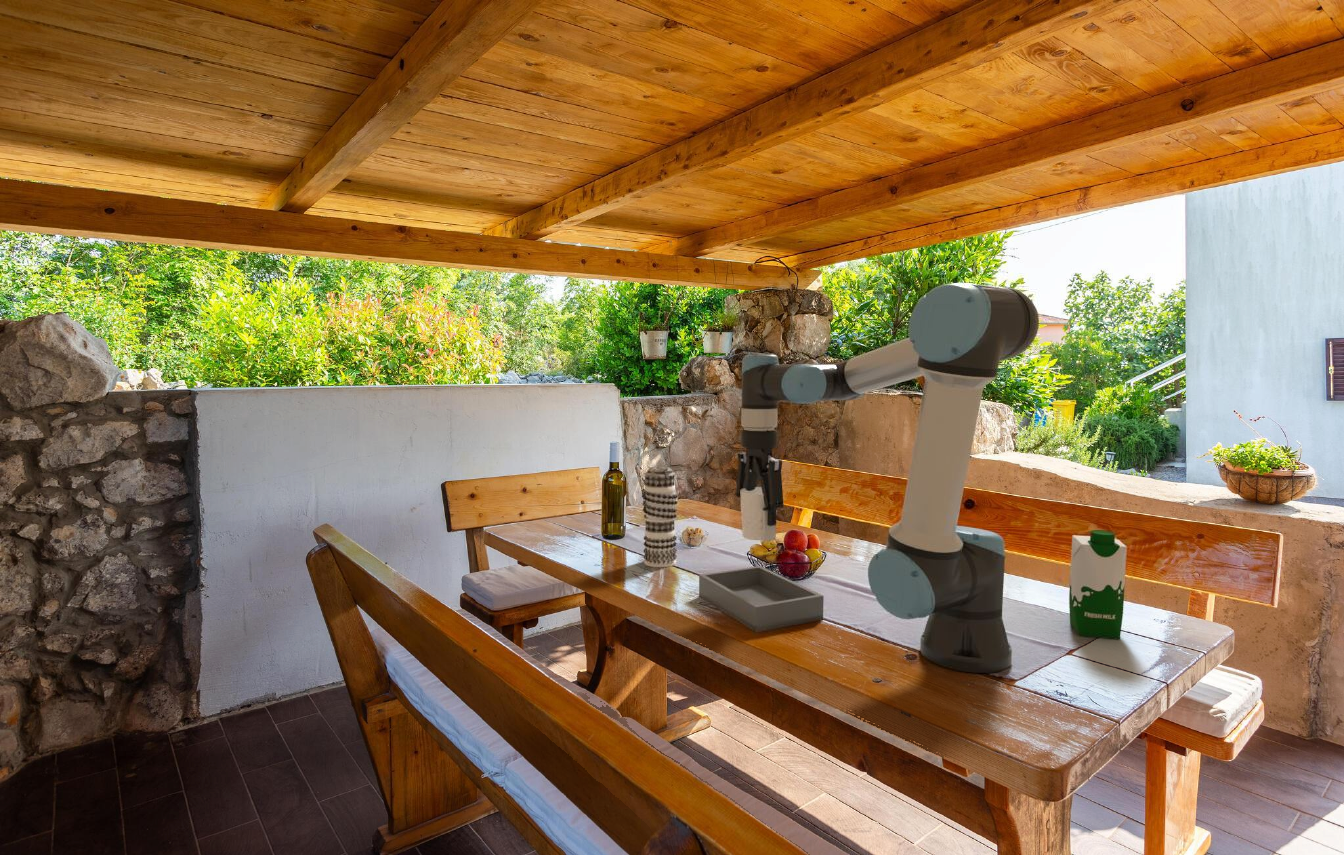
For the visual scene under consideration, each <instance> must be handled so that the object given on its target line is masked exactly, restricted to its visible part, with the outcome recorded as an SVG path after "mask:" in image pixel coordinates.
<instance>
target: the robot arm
mask: <svg viewBox="0 0 1344 855" xmlns="http://www.w3.org/2000/svg"><path fill="white" fill-rule="evenodd" d="M1039 318H1040V316H1039V312H1038V310H1037V307H1036V306H1035V303H1034V302H1033V301H1032V299H1031V298H1029V297H1028V296H1027V295H1026V294H1025V293H1023V292H1022V291H1020V290H1017V289H1016V288H1014V287H1008V286H996V285H995V286H994V285H985V284H977V283H976V284H975V283H970V282H956V283H946V284H941V285H938V286H935V287H934V288H932V289H931V290H929V291H928V292H927V293H926V294H924V295H923V296H921V298H920V299H919V300H918V302H917V303H916V304H915V306H914V308H913V310H912V313H911V315H910V318H909V322H908V337H906V338H904V339H901V340H898V341H896V342H893V343H890V344H887V345H885V346H882V347H879V348H876V349H873V350H871V351H870V350H869V351H868V352H865V353H862V354H860V355H857V356H854V357H851V358H849V359H846V360H843V361H840V362H836V363H820V364H819V363H817V364H816V363H815V364H813V363H812V364H811V363H810V364H809V363H797V364H796V363H795V364H794V363H793V364H792V363H791V364H788V363H787V364H780V362H779V356H778V355H776V354H747V355H745V356H743V357H742V365H741V373H740V376H741V413H740V414H741V415H740V416H741V420H740V423H741V424H740V427H742V428H743V429H742V430H741V433H740V434H741V438H740V439H741V440H740V442H741V447H743V448H746V450H745V452H738V453H737V461H738V465H737V466H738V467H737V477H736V478H737V479H736V490H735V496H736V498H739V500H740V501H741V497H740V490H741V489H743V488H745V489H746V490H747V491H752V490H754V489H755V487H757V483H758V480H759V483H760V487H761V488H762V493H763V494H764V503H765V508H762V509H763V540H762V541H763V542H771V541H776V540H777V538H776V537H777V536H776V535H777V534H776V532H777V528H776V526H777V515H776V512H778V510H780V509H783V508H784V494H783V493H784V492H783V478H782V467H783V460H782V459H776V458H774V454H773V453H774V452H773V450H774V449H775V448H777V447H778V432H779V431H777V430H778V429H775V428H777V427H778V414H779V413H778V408H779V405H778V404H779V402H783V403H784V402H785V403H794V404H796V405H797V404H798V405H801V404H804V405H805V404H806V405H807V404H814V403H817V402H825V401H826V402H827V401H828V402H829V401H844V402H847V401H854V400H858V399H861V398H863V397H864V395H866V394H867V393H870V392H873V391H875V390H880V389H882V388H886V387H890V386H893V385H897V384H900V383H902V382H906V381H911V380H913V379H918V378H920V377H924V378H923V379H924V385H923V390H922V396H921V402H920V408H919V414H918V419H917V425H916V430H915V437H914V442H913V447H912V448H913V449H912V454H911V458H910V459H911V460H910V464H909V466H910V467H909V471H908V478H907V482H906V488H905V495H904V500H903V506H902V511H901V517H900V520H899V521H897V522H896V523H894V524H893V525H891V526H890V527H889V530H888V536H887V541H886V546H885V548H883V549H880V550H879V551H877V553H875V554H874V555H873V556H872V558H870V561H869V563H868V566H867V568H868V569H867V578H868V579H867V580H868V584H869V587H870V590H871V592H872V594H874V596H875V599H876V601H877V603H878V604H879V605H880V606H881V607H882V608H883V609H884V610H885V611H886V612H888V613H889V614H890V615H892V616H894V617H895V618H898V619H902V620H913V619H918V618H919V619H923V618H926V617H927V621H926V624H925V627H924V631H923V632H922V634H921V637H920V647H919V648H920V649H919V650H920V654H921V655H922V656H923V657H924V658H925V659H926V660H928V661H929V662H932V663H933V664H935V665H938V666H939V667H940V666H941V667H943V668H946V669H950V670H954V671H960V672H965V673H974V674H976V673H977V674H986V673H987V674H989V673H996V672H1002V671H1004V670H1006V669H1009V667H1010V666H1011V665H1012V661H1013V660H1012V657H1013V655H1012V654H1013V650H1012V646H1011V644H1010V643H1009V640H1008V636H1007V632H1006V628H1005V624H1004V620H1003V606H1004V605H1003V603H1004V602H1003V601H1004V599H1003V598H1004V581H1005V580H1004V579H1005V559H1006V556H1007V555H1006V553H1005V552H1006V551H1005V541H1004V538H1003V537H1002V535H1000V534H998V533H996V532H994V531H990V530H986V529H982V528H975V527H970V526H969V527H968V526H963V525H958V520H959V516H960V510H961V504H962V499H963V494H964V491H965V485H966V479H967V473H968V468H969V463H970V458H971V453H972V448H973V442H974V438H975V437H974V436H975V433H976V428H977V422H978V416H979V412H980V407H981V402H982V401H981V400H982V396H983V393H984V392H983V391H984V388H985V387H986V385H988V384H990V383H991V382H992V381H994V380H996V379H997V375H998V370H999V365H1000V361H1005V360H1010V359H1014V358H1015V357H1018V356H1019V355H1021V354H1023V353H1024V352H1025V351H1027V349H1028V348H1030V346H1031V345H1032V343H1033V342H1034V341H1035V338H1036V336H1038V335H1037V334H1038V332H1039V328H1040V327H1039V326H1040V319H1039Z"/></svg>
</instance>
